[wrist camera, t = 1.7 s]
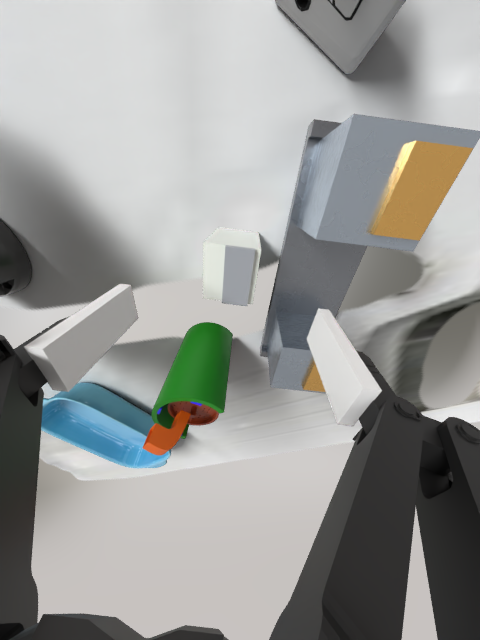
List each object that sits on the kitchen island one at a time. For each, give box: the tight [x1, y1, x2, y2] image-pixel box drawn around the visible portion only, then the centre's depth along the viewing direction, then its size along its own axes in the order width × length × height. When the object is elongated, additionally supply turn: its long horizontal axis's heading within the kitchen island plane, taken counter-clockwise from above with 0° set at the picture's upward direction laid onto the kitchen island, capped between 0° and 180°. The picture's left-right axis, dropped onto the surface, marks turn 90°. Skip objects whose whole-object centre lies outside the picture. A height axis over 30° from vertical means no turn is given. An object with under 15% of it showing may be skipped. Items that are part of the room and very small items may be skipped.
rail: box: [260, 114, 480, 393], centre depth 25 cm, size 11×32×11 cm, turn 174°
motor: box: [143, 322, 233, 455], centre depth 30 cm, size 10×9×20 cm
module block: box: [203, 227, 261, 306], centre depth 24 cm, size 6×6×11 cm
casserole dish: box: [41, 383, 171, 468], centre depth 52 cm, size 37×22×7 cm, turn 39°
